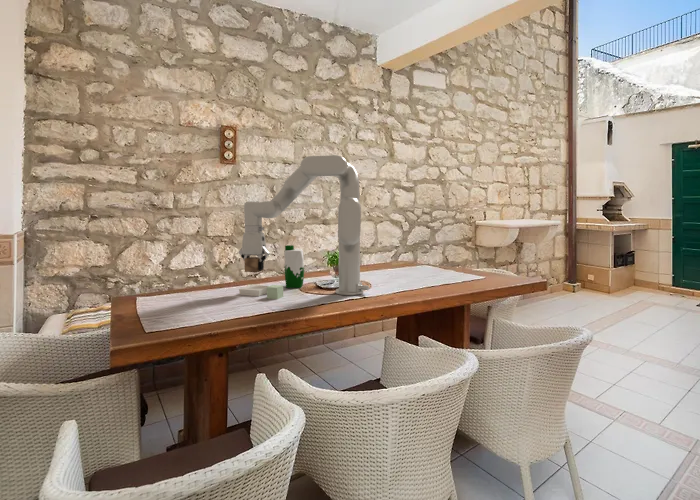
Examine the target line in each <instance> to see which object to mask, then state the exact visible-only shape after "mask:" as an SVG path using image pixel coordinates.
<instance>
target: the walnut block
mask: <svg viewBox="0 0 700 500" xmlns="http://www.w3.org/2000/svg"><path fill="white" fill-rule="evenodd" d="M243 261H244V272H245V273H254V274H255V273H256V274H257V273H260V272H263V271H265V269H264V268H265V267H264V268H263V270H261V271H259V270H258V262H259V259H258V256H250V257H249V258H244V260H243Z"/></svg>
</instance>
